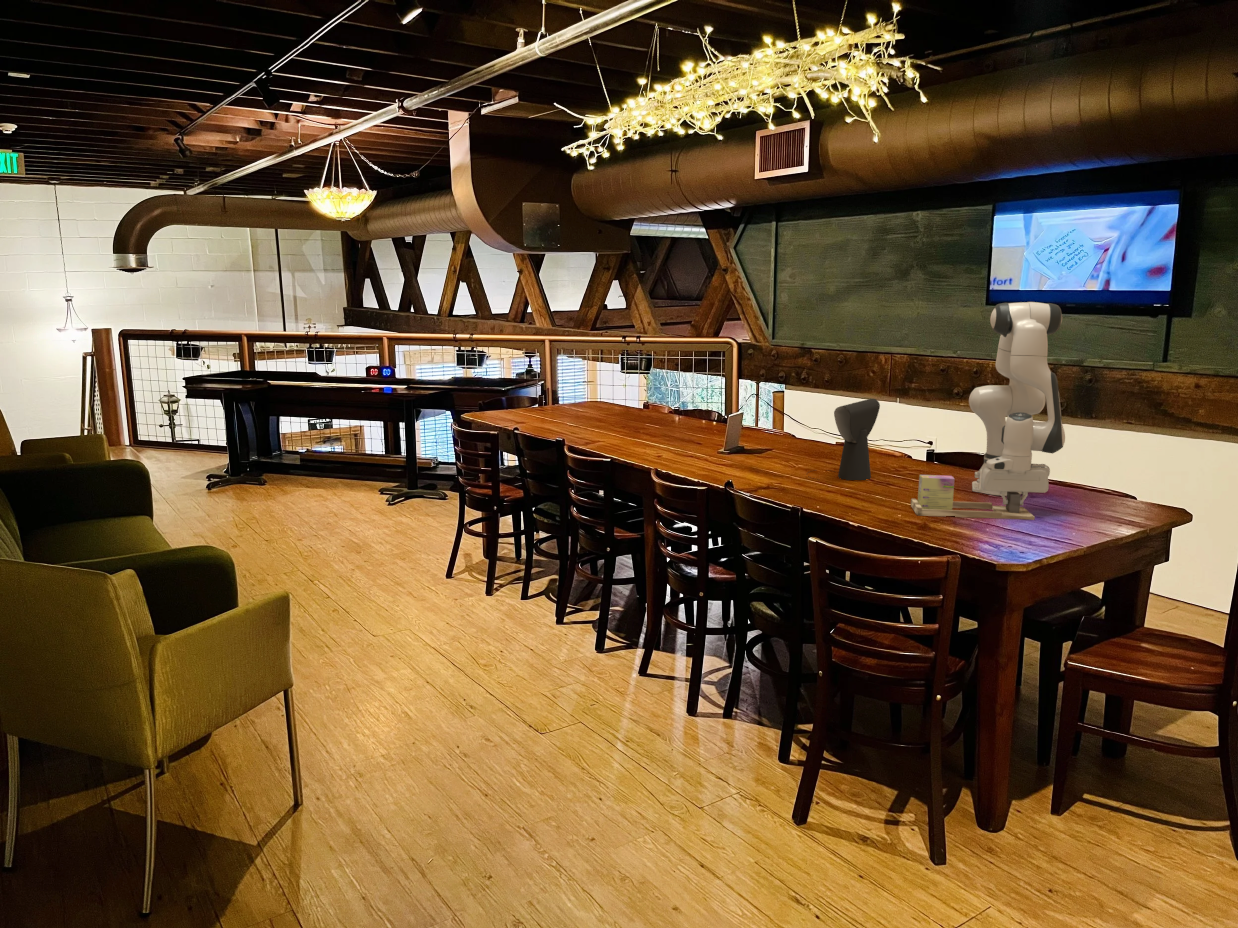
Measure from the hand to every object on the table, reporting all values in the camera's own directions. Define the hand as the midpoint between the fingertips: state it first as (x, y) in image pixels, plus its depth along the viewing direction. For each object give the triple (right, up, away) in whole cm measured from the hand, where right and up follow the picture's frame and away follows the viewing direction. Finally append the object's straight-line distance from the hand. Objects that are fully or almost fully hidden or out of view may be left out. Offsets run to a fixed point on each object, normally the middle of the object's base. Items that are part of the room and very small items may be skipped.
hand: (1012, 504), depth 291 cm
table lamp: (-42, +7, +56) cm, 70 cm away
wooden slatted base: (-13, -3, +3) cm, 13 cm away
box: (-24, -3, +5) cm, 25 cm away
